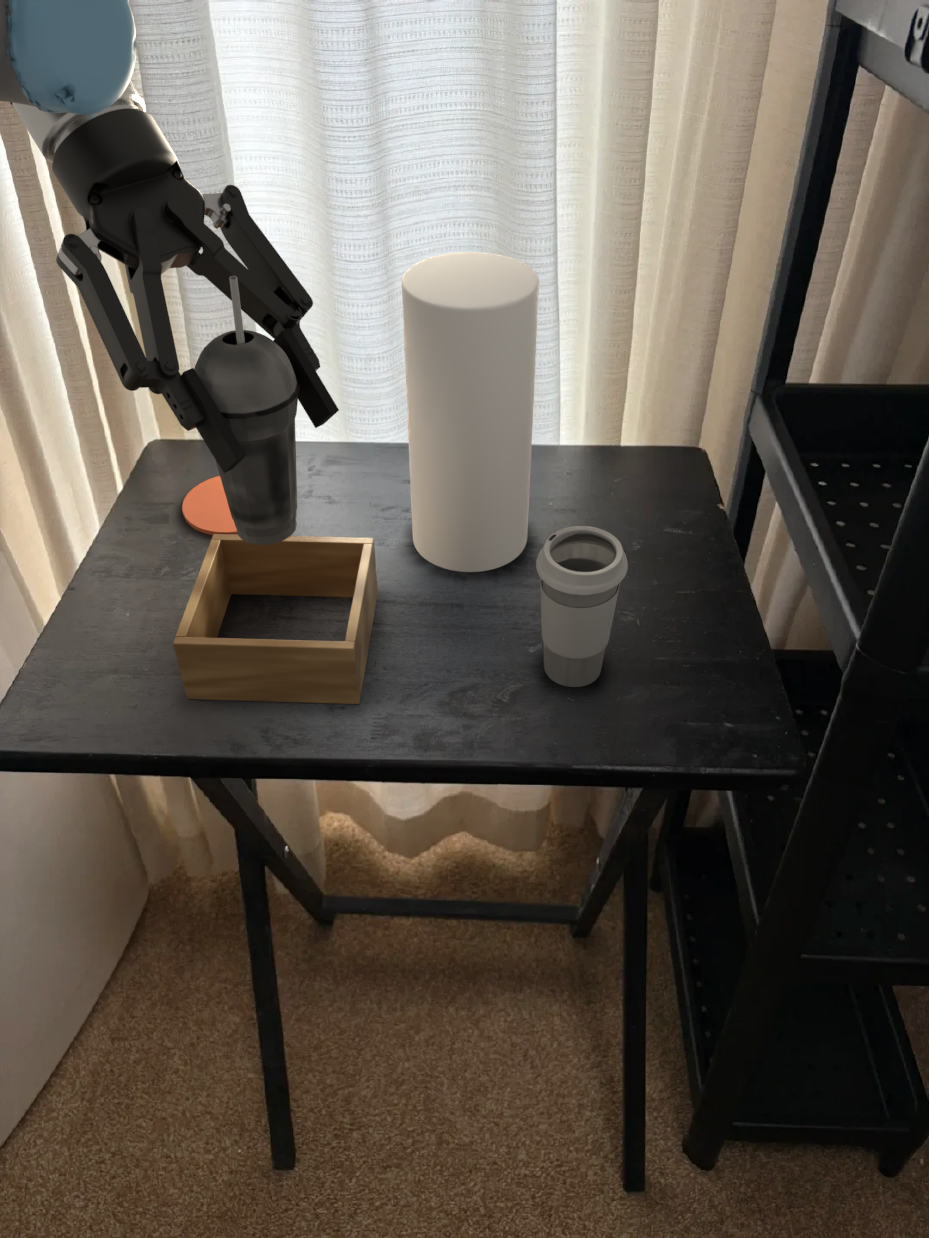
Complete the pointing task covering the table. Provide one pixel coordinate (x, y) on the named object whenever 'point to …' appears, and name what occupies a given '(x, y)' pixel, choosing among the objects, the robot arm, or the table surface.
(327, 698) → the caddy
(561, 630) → the cup
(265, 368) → the beverage cup
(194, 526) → the coaster
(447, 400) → the tall pillar cylinder
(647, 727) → the table surface
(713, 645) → the table surface
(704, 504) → the table surface
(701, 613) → the table surface
